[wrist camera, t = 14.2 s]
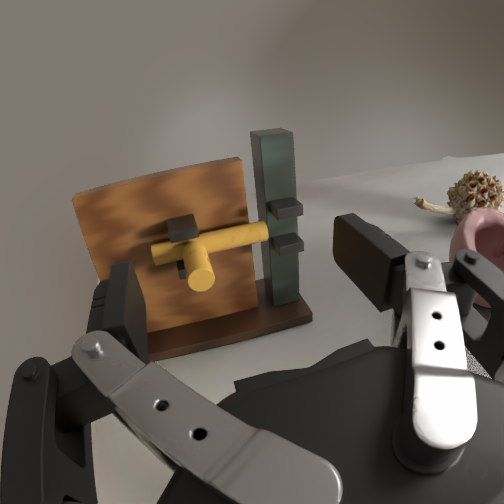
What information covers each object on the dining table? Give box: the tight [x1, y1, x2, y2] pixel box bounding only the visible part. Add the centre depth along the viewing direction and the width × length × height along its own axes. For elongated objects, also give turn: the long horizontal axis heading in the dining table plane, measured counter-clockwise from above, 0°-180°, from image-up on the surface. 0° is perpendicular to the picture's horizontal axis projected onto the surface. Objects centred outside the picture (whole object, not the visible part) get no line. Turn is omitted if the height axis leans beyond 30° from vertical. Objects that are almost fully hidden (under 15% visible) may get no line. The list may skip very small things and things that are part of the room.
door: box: [72, 128, 313, 362], centre depth 30 cm, size 20×8×19 cm, turn 106°
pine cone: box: [412, 170, 504, 224], centre depth 45 cm, size 22×10×10 cm, turn 102°
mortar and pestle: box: [449, 207, 504, 308], centre depth 29 cm, size 12×12×11 cm
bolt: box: [151, 221, 269, 292], centre depth 25 cm, size 10×6×2 cm, turn 106°
